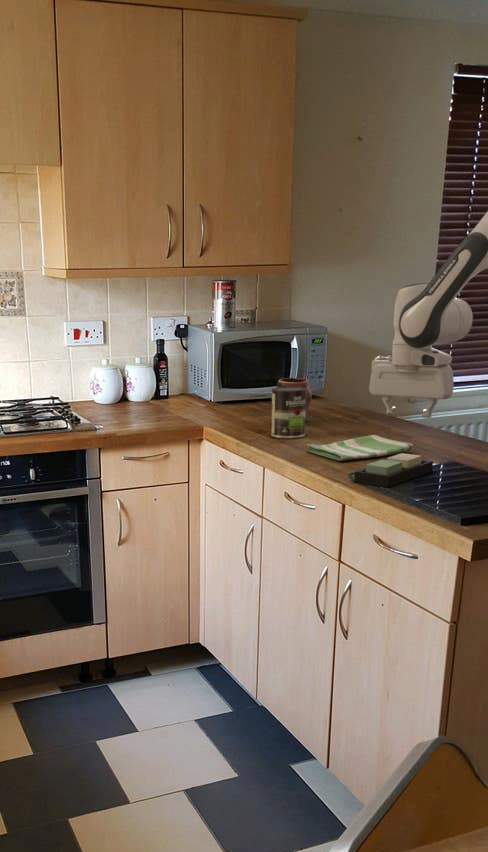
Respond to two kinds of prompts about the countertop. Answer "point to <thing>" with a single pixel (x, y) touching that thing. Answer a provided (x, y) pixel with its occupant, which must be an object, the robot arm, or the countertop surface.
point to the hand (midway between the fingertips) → (408, 416)
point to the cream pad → (406, 459)
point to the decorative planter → (297, 383)
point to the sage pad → (384, 467)
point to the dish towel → (360, 448)
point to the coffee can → (288, 412)
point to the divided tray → (393, 475)
